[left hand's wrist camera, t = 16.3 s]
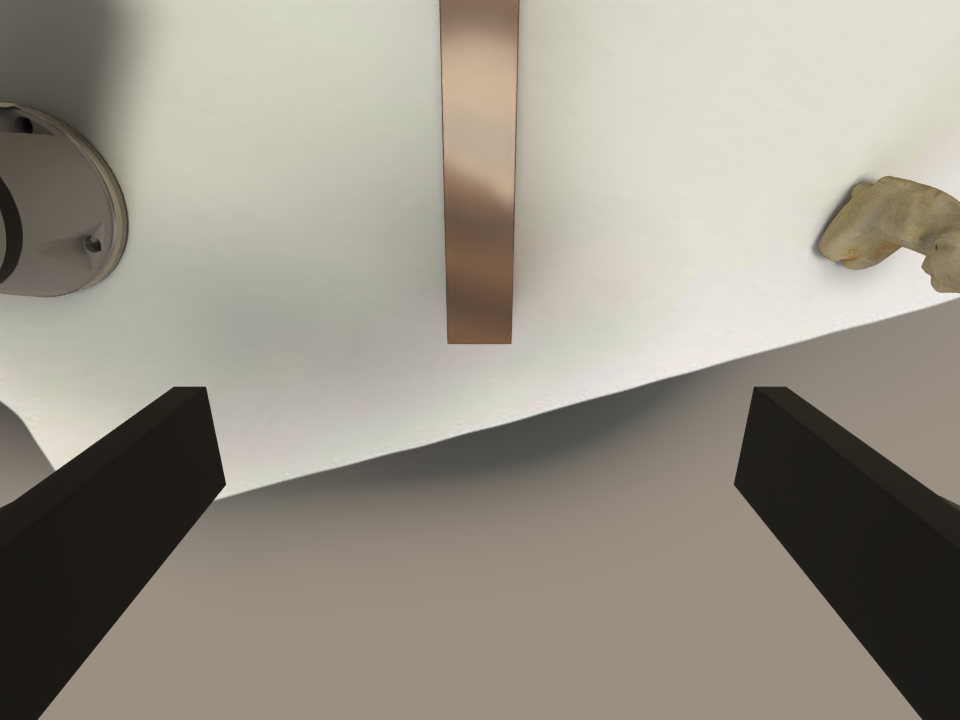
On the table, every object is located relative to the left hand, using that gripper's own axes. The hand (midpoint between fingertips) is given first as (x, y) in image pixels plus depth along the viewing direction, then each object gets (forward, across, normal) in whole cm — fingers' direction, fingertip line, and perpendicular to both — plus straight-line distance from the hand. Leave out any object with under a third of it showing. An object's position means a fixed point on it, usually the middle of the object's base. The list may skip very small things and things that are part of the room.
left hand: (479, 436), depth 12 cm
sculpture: (+34, -32, -2) cm, 47 cm away
